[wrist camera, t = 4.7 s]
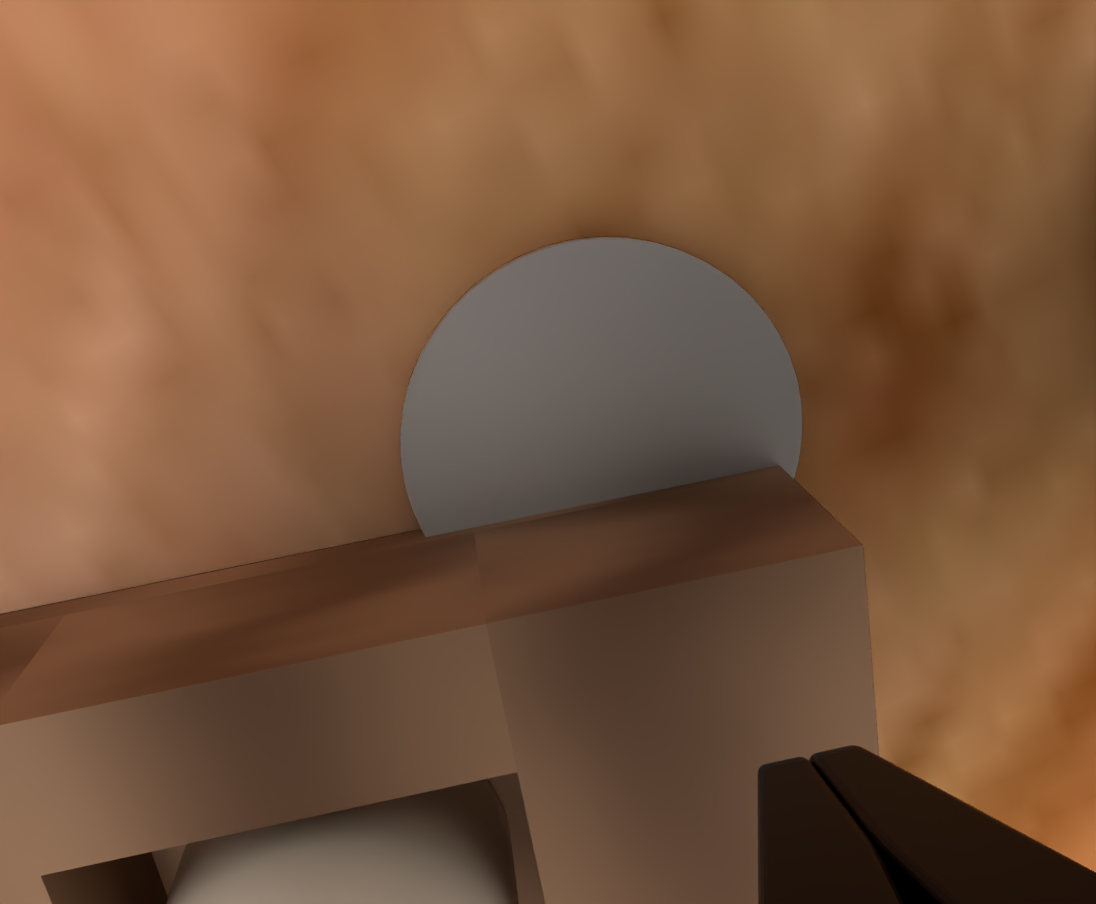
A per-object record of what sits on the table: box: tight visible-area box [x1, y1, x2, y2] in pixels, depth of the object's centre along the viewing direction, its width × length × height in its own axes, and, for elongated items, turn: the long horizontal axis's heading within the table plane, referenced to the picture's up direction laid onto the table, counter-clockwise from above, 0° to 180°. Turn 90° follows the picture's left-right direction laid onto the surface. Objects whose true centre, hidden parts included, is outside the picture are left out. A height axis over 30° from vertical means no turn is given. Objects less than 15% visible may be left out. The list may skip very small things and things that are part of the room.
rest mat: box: [400, 237, 802, 537], centre depth 17 cm, size 7×7×1 cm
